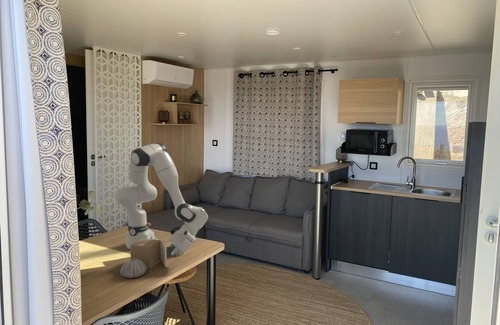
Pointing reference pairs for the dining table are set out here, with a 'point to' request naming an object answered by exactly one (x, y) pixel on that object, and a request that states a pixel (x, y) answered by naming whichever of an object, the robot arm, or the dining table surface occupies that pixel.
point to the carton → (146, 251)
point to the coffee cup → (175, 246)
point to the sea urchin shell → (133, 268)
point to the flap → (166, 252)
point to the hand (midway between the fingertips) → (169, 252)
